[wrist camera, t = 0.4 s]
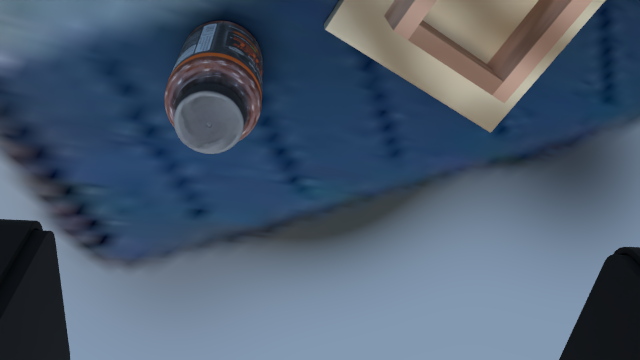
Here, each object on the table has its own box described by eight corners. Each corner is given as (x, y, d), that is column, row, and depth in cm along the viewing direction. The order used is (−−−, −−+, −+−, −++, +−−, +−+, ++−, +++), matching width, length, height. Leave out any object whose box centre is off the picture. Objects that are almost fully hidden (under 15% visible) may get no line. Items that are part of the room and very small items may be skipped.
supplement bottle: (279, 64, 42) (283, 133, 33) (219, 109, 44) (206, 188, 34) (226, 0, 39) (213, 54, 30) (164, 51, 41) (132, 118, 31)
